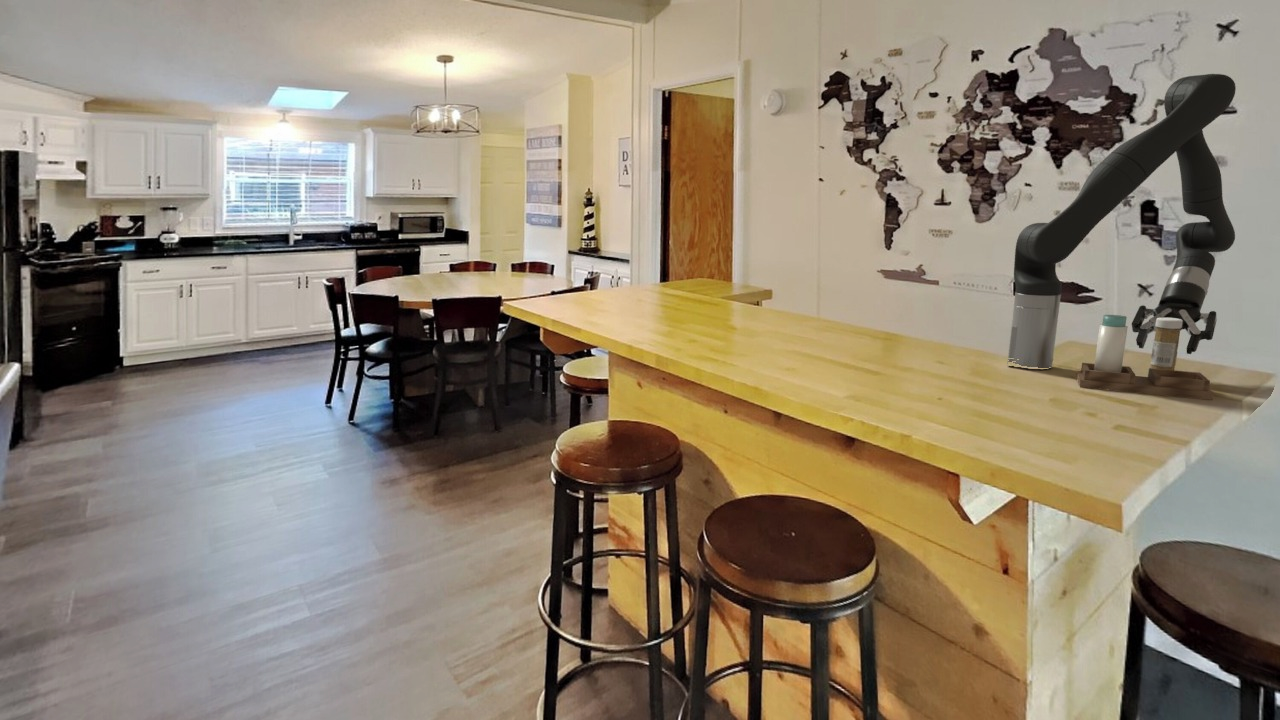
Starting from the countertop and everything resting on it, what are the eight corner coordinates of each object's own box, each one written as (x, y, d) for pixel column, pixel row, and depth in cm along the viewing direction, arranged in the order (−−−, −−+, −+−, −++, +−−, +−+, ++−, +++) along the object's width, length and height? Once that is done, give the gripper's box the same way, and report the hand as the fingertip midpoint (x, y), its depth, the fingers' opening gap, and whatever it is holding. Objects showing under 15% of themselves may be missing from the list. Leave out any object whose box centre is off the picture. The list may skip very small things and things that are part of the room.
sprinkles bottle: (1176, 380, 152) (1186, 318, 149) (1167, 383, 150) (1177, 320, 147) (1152, 376, 156) (1161, 316, 153) (1143, 379, 153) (1152, 318, 151)
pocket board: (1079, 387, 146) (1081, 370, 145) (1076, 377, 155) (1078, 361, 154) (1212, 400, 136) (1215, 382, 135) (1200, 388, 145) (1203, 372, 144)
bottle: (1094, 378, 147) (1102, 316, 144) (1092, 373, 151) (1100, 313, 148) (1121, 380, 145) (1130, 318, 142) (1118, 376, 149) (1127, 315, 146)
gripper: (1145, 278, 159) (1123, 334, 154) (1225, 282, 148) (1205, 342, 143) (1147, 299, 163) (1127, 354, 158) (1226, 305, 153) (1206, 364, 148)
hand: (1164, 348), depth 151 cm, fingers open, 8 cm apart
